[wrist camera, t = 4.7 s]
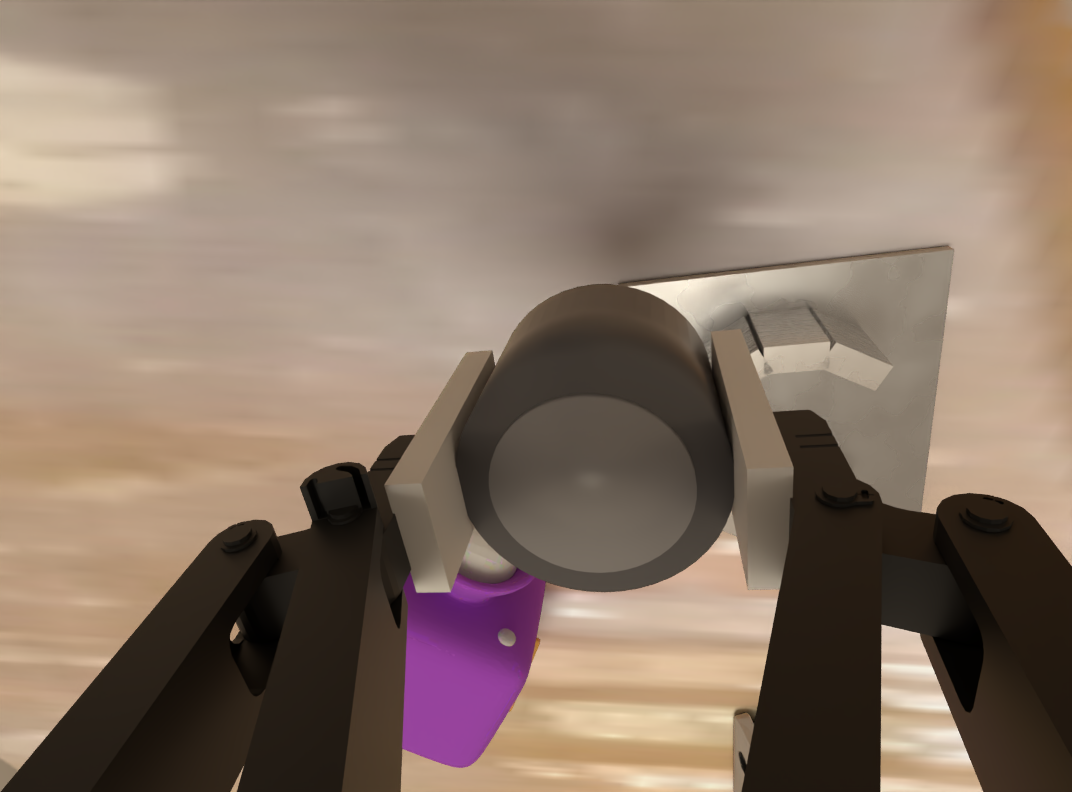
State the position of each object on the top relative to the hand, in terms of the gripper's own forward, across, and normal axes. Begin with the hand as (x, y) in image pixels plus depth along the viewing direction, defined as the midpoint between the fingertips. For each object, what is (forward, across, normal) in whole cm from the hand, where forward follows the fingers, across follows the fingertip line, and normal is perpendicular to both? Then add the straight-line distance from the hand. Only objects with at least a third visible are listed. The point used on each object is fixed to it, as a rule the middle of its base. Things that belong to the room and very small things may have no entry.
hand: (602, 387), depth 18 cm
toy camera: (+14, -11, -17) cm, 25 cm away
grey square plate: (+13, +7, -8) cm, 17 cm away
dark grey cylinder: (0, 0, 0) cm, 0 cm away
